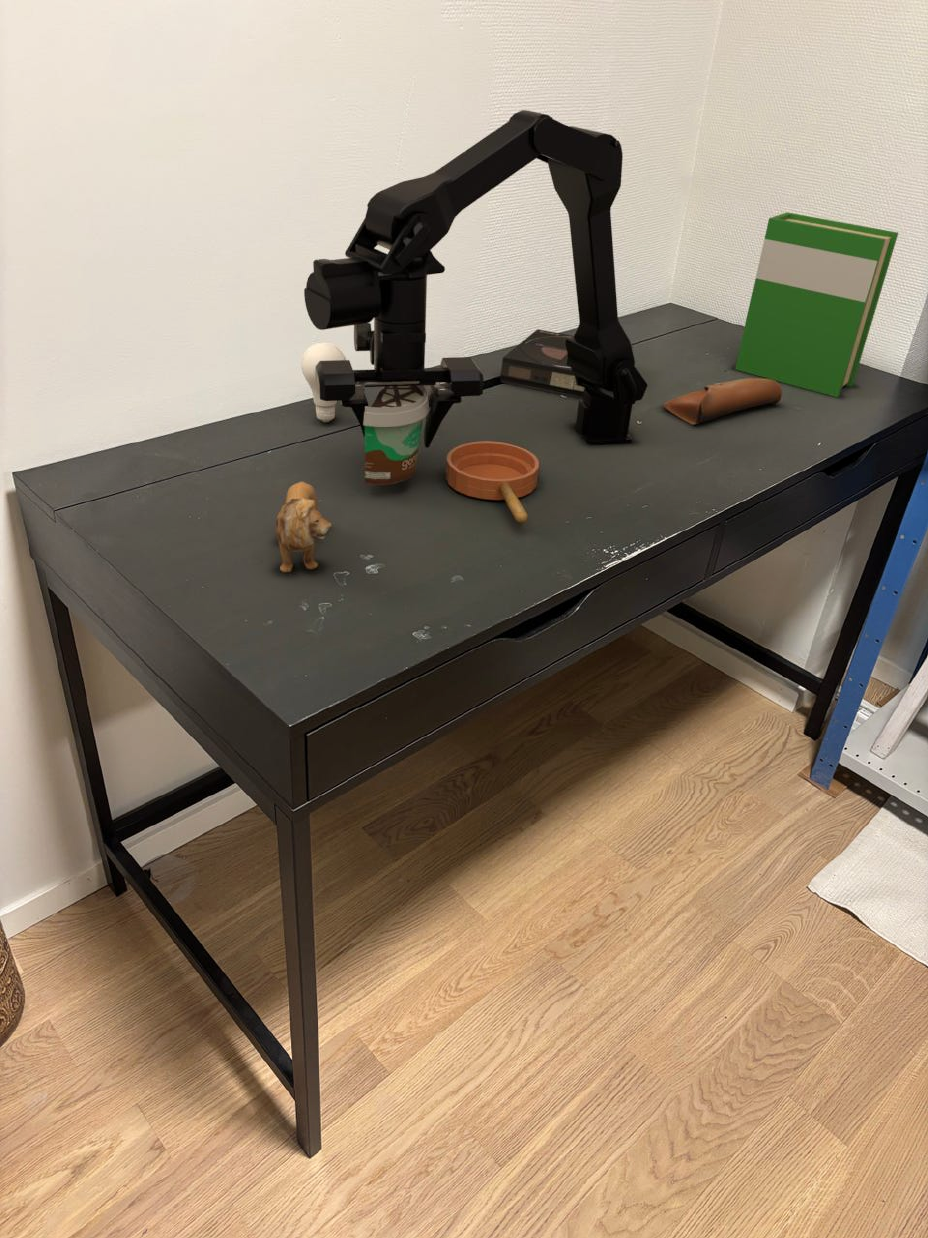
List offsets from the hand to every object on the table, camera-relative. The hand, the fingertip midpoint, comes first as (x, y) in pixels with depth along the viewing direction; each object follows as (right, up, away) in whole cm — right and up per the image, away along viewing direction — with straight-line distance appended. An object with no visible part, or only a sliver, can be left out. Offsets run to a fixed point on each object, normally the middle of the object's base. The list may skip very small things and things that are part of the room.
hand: (398, 447), depth 113 cm
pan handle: (+13, -7, -3) cm, 16 cm away
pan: (+11, -3, +5) cm, 13 cm away
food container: (0, -3, +2) cm, 3 cm away
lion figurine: (-9, -14, -12) cm, 20 cm away
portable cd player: (+24, +18, +39) cm, 49 cm away
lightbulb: (-11, +7, +18) cm, 23 cm away
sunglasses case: (+47, +11, +31) cm, 58 cm away
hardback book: (+63, +20, +45) cm, 80 cm away
